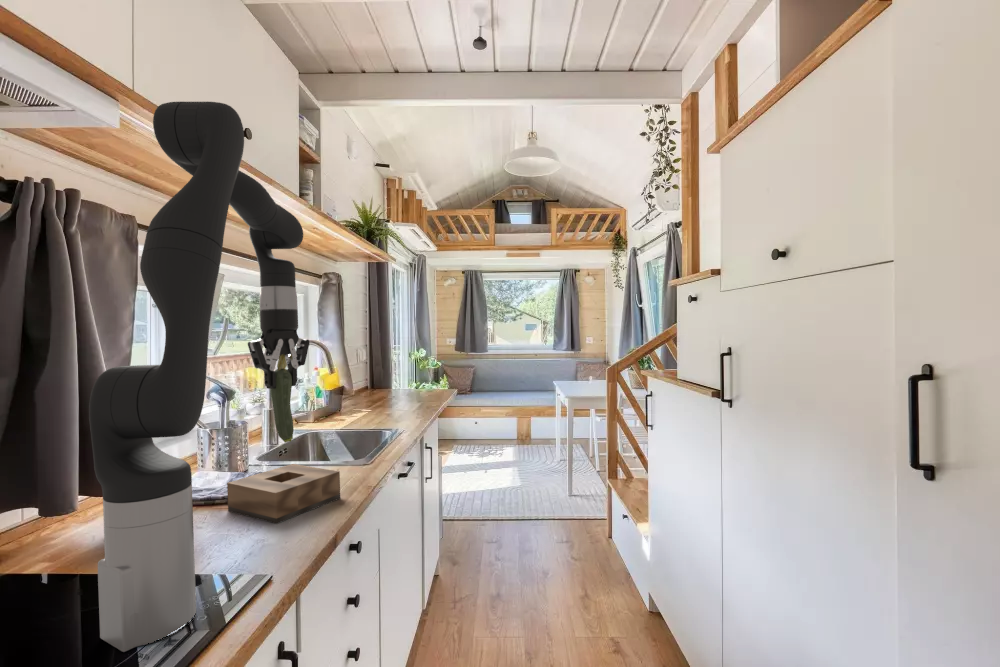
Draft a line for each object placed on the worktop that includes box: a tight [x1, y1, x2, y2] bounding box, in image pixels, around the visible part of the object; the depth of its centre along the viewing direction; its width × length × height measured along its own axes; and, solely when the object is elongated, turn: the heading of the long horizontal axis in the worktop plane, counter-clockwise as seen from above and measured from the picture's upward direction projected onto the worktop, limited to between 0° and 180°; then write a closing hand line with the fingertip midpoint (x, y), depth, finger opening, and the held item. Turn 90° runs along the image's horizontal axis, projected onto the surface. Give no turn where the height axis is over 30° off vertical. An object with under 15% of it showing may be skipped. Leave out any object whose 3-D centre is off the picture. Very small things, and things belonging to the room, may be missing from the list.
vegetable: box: [270, 354, 295, 444], centre depth 106 cm, size 4×4×20 cm
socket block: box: [226, 463, 341, 525], centre depth 106 cm, size 16×16×6 cm
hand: (281, 386), depth 106 cm, fingers closed on vegetable, 4 cm apart
